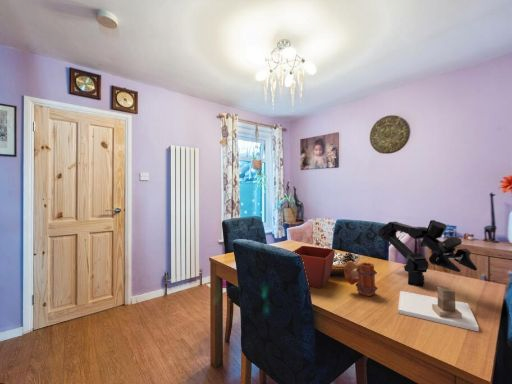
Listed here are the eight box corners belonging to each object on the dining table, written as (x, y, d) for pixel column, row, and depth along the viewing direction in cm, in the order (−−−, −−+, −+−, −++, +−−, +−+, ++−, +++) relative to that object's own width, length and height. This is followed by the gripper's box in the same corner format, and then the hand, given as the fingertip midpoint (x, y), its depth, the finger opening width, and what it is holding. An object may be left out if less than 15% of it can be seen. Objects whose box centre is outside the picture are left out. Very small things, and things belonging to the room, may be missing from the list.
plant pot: (326, 292, 116) (325, 258, 116) (289, 285, 126) (289, 253, 126) (336, 279, 132) (335, 249, 132) (302, 273, 142) (302, 245, 142)
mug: (376, 291, 116) (375, 260, 116) (378, 298, 109) (378, 265, 109) (344, 287, 121) (343, 258, 121) (344, 294, 114) (343, 263, 113)
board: (398, 313, 96) (398, 309, 96) (400, 294, 113) (400, 290, 113) (478, 331, 83) (478, 327, 83) (467, 306, 100) (467, 303, 100)
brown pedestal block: (439, 317, 90) (439, 291, 90) (432, 309, 96) (431, 285, 96) (461, 318, 88) (461, 293, 88) (452, 310, 94) (452, 286, 94)
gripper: (427, 232, 107) (460, 257, 93) (459, 231, 111) (495, 254, 98) (417, 252, 112) (447, 277, 98) (448, 249, 116) (481, 274, 103)
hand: (468, 270), depth 99 cm, fingers open, 9 cm apart
